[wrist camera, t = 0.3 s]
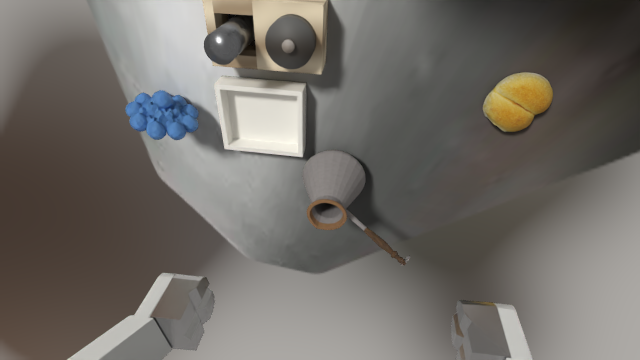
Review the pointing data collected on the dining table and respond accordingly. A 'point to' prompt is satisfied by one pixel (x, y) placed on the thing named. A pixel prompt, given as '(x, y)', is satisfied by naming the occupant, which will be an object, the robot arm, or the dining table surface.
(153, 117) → the blue lobed round piece
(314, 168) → the coffee pot
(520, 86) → the bread roll
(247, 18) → the pin
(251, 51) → the plate
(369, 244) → the dining table surface
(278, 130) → the tray
